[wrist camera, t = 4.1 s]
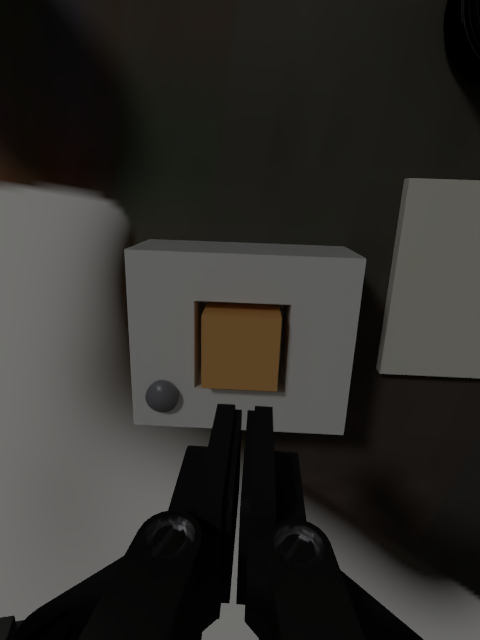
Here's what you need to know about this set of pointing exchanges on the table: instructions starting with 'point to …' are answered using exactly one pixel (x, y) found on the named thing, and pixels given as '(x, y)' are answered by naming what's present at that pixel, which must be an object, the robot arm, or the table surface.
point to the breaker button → (240, 346)
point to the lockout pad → (434, 282)
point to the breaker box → (243, 287)
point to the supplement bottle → (463, 36)
